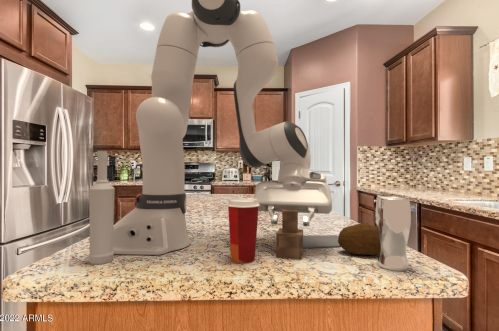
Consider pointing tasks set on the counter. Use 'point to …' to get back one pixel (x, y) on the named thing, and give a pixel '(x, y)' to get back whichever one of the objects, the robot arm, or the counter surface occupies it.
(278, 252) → the walnut cover
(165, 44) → the robot arm
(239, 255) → the paper cup
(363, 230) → the potato
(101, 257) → the bottle
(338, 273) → the counter surface
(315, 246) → the grey mat
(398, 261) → the beer glass
